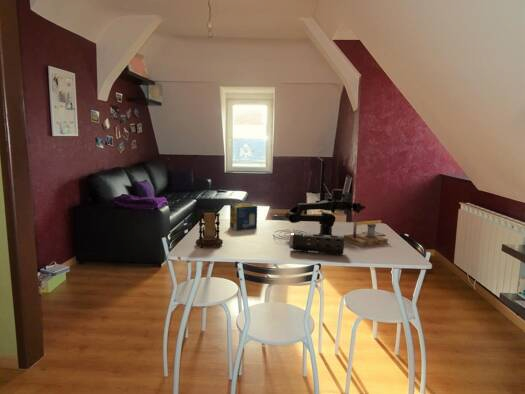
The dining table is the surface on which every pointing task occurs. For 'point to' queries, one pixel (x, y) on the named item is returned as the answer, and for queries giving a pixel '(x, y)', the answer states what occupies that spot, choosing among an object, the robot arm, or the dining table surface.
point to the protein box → (243, 216)
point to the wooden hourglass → (209, 230)
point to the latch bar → (363, 224)
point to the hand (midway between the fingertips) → (361, 206)
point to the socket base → (365, 239)
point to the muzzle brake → (317, 243)
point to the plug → (371, 230)
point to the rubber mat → (377, 233)
